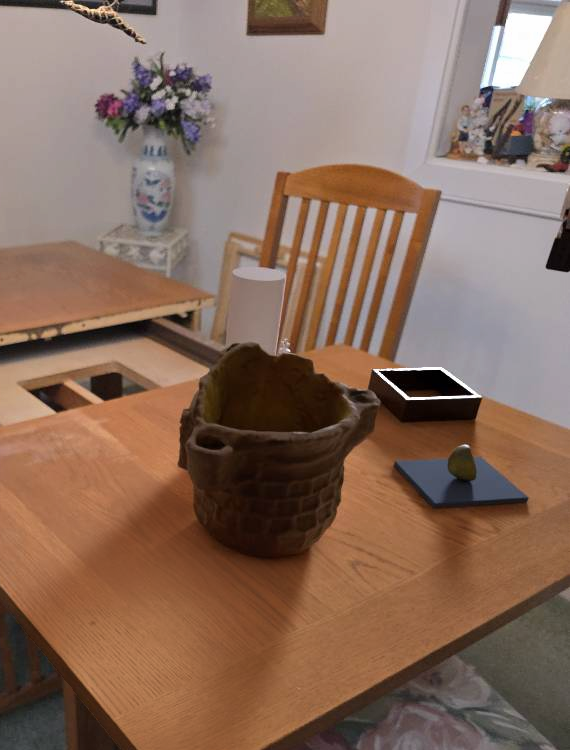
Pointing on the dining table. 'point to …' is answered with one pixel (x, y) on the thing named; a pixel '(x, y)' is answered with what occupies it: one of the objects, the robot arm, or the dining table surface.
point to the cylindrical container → (255, 307)
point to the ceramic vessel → (270, 449)
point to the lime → (462, 463)
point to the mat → (459, 484)
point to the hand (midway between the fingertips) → (563, 264)
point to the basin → (451, 406)
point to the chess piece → (284, 347)
